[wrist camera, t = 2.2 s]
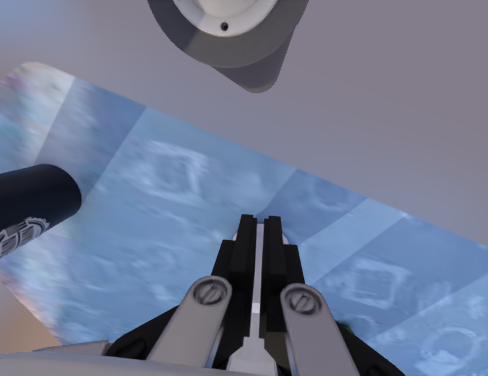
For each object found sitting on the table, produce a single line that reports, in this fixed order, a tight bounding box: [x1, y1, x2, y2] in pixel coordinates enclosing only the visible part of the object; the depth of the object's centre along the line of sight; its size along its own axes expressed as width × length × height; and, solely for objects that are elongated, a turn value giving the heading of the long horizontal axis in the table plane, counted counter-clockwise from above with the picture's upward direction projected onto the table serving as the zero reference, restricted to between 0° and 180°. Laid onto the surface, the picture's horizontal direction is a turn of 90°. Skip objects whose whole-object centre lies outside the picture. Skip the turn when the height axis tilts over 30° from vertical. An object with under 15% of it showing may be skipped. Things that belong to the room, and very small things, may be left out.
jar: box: [229, 224, 289, 376], centre depth 26 cm, size 11×10×15 cm
